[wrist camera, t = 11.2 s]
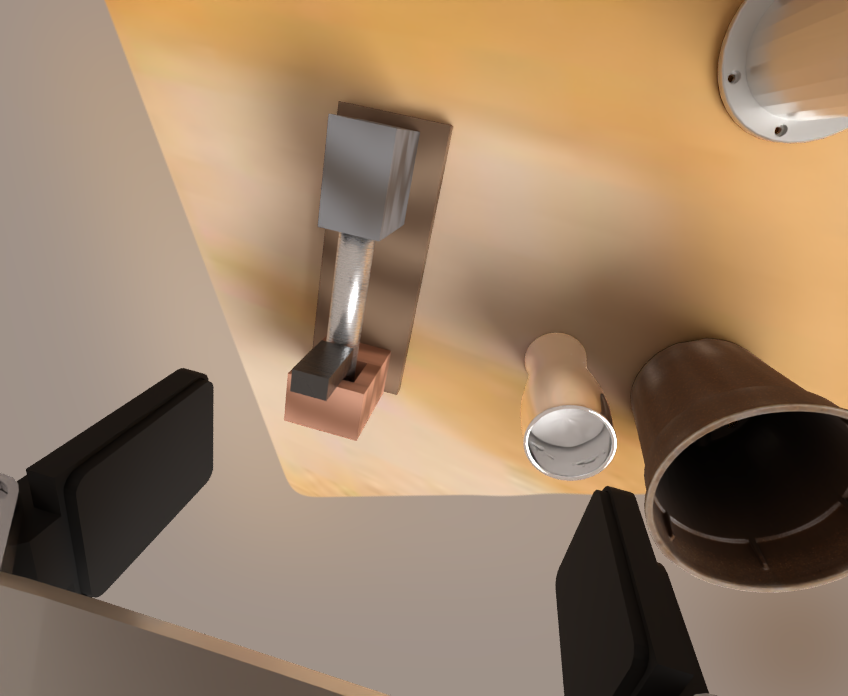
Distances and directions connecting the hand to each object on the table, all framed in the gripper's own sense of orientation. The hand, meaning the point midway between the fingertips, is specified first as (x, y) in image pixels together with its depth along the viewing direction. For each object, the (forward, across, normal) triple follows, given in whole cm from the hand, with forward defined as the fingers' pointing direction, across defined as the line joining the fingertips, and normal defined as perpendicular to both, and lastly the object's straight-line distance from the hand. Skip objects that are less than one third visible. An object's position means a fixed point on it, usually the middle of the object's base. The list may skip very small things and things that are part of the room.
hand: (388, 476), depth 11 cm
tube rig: (+36, +10, +5) cm, 38 cm away
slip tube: (+30, +10, +7) cm, 33 cm away
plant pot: (+36, -24, +11) cm, 45 cm away
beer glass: (+36, -10, +11) cm, 39 cm away
